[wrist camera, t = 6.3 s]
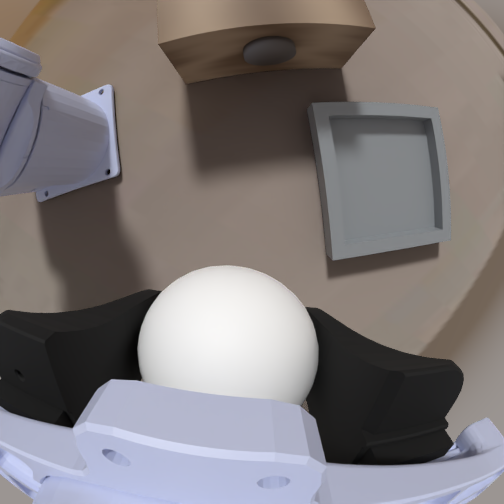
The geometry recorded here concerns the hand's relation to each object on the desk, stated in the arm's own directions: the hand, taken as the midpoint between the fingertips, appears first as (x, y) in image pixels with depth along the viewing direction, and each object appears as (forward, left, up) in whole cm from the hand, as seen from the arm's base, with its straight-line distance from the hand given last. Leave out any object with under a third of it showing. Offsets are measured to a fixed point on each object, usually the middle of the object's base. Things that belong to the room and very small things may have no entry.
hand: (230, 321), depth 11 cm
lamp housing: (+4, +16, -10) cm, 19 cm away
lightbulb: (+1, -1, -6) cm, 6 cm away
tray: (+12, +5, -10) cm, 16 cm away
